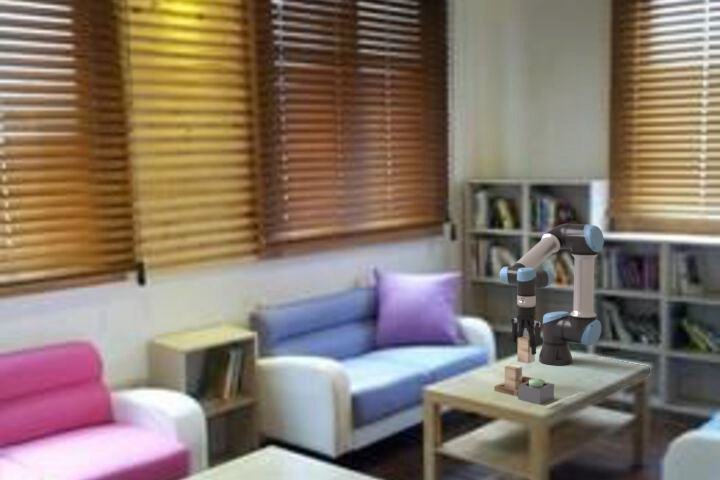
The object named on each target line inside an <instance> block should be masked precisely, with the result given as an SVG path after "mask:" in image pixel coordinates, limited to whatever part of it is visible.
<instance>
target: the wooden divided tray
mask: <svg viewBox="0 0 720 480" xmlns="http://www.w3.org/2000/svg"><path fill="white" fill-rule="evenodd" d="M530 379H536V378H535V377H529V376H526V375H522V383H524V382H527V381H529V380H530ZM542 380H543V379H542ZM543 382H545V380H543ZM493 390H494V392H498V393H502V394H506V395H511V396H513V397H514V396H515V397H518V389H517V390H514V389H509V388H505V381H503V382H501V383H499V384H496V385H494V389H493Z"/></svg>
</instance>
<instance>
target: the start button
mask: <svg viewBox="0 0 720 480" xmlns="http://www.w3.org/2000/svg"><path fill="white" fill-rule="evenodd" d="M529 386H531V387H536V388H540V387H543V379H541V378H535V379H530V380H529Z"/></svg>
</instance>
